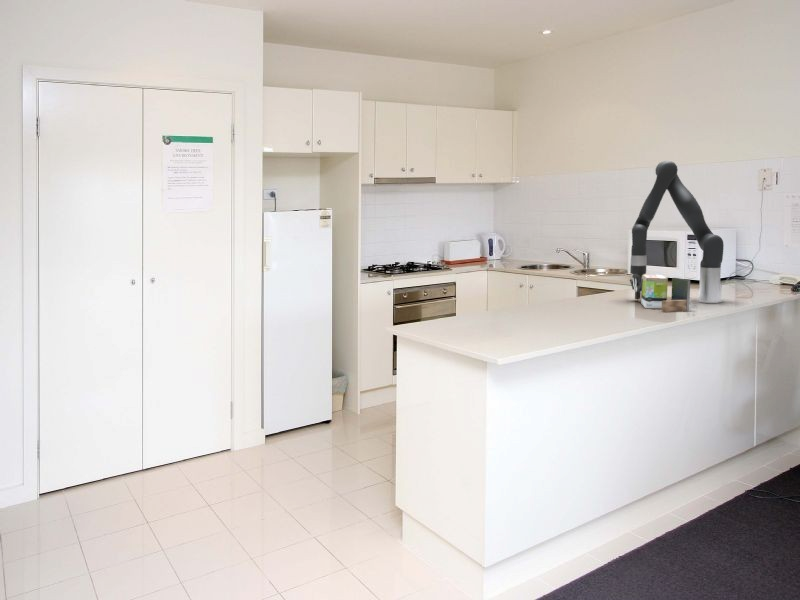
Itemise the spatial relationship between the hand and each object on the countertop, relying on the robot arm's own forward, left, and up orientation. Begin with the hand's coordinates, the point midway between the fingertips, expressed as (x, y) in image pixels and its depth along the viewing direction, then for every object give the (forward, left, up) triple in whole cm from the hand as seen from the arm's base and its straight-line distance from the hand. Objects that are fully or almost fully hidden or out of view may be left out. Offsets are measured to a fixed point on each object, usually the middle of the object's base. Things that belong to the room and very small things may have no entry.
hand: (637, 298), depth 349 cm
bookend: (-7, +27, -2) cm, 28 cm away
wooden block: (-1, +32, -2) cm, 32 cm away
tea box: (0, +16, -2) cm, 16 cm away
